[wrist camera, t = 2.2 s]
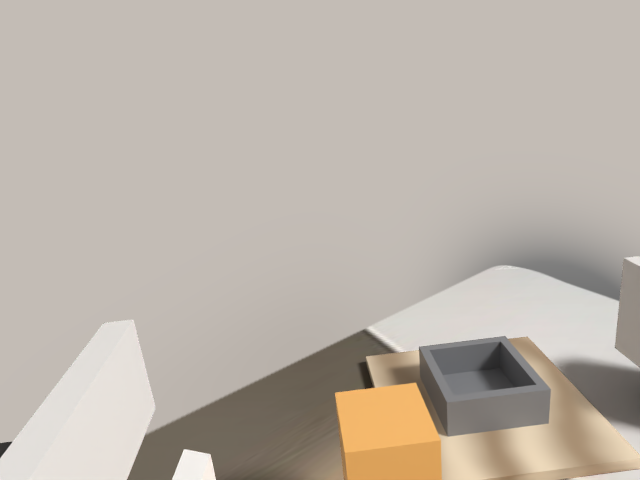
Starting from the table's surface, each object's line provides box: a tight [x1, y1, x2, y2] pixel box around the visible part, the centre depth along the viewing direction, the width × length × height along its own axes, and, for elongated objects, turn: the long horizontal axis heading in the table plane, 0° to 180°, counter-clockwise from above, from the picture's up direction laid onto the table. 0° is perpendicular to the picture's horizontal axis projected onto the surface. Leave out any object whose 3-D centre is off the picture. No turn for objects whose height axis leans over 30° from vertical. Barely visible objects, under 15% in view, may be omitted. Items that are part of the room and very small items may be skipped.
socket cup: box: [419, 336, 551, 437], centre depth 44 cm, size 9×9×3 cm
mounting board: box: [366, 337, 640, 480], centre depth 44 cm, size 18×18×1 cm
